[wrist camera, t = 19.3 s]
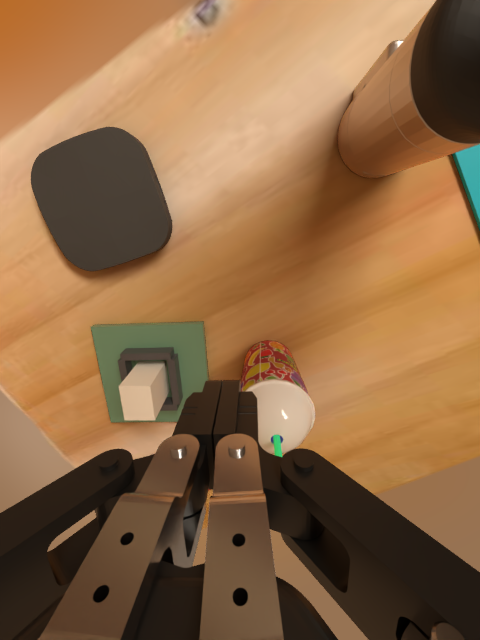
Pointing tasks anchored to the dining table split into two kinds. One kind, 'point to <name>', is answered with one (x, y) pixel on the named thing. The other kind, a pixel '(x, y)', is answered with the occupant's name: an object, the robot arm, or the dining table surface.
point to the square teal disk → (470, 176)
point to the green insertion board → (152, 345)
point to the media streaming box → (101, 199)
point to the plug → (144, 390)
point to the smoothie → (278, 397)
